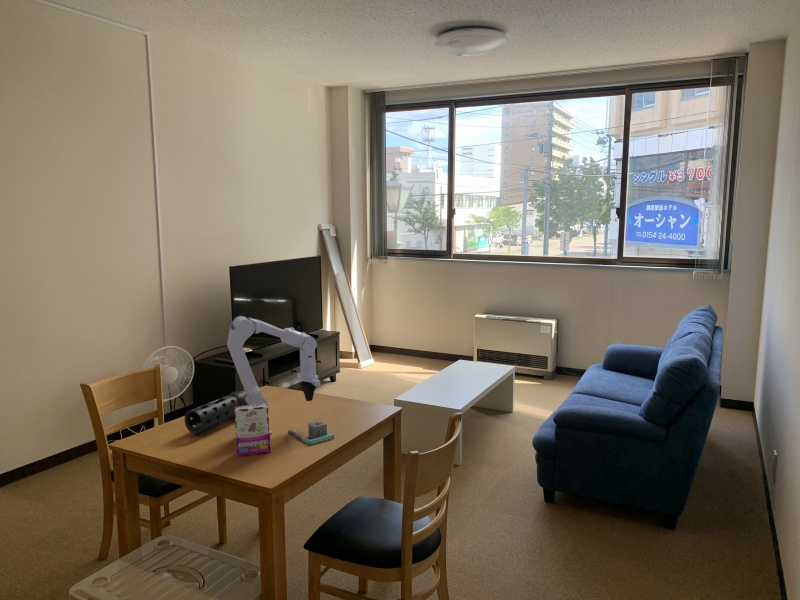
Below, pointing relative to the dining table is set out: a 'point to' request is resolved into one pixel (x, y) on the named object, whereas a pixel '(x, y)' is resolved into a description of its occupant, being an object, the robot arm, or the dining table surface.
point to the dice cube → (317, 429)
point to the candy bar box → (252, 429)
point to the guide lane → (312, 441)
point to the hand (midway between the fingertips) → (309, 400)
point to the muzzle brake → (214, 413)
